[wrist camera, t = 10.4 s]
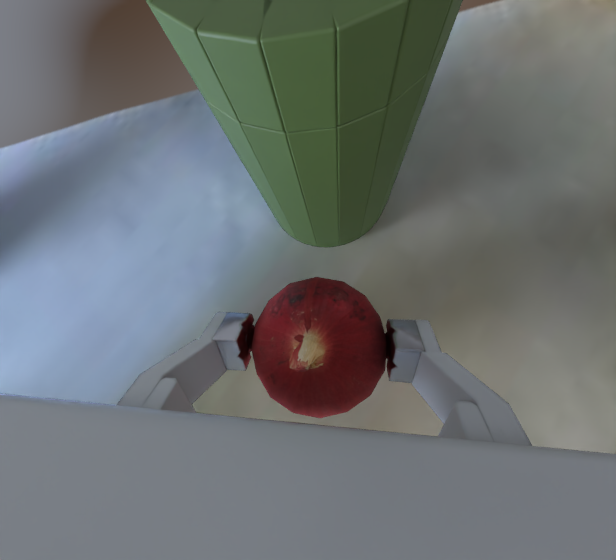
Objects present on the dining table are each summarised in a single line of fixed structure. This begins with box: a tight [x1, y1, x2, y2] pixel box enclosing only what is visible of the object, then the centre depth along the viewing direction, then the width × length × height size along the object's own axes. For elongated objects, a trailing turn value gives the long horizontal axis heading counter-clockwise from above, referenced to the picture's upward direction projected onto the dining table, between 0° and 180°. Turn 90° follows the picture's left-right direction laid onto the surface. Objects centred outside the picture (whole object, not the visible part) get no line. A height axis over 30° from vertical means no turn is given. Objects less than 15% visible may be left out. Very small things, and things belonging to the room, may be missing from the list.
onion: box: [251, 277, 386, 418], centre depth 11 cm, size 6×6×8 cm
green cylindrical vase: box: [146, 0, 463, 247], centre depth 11 cm, size 8×8×12 cm
